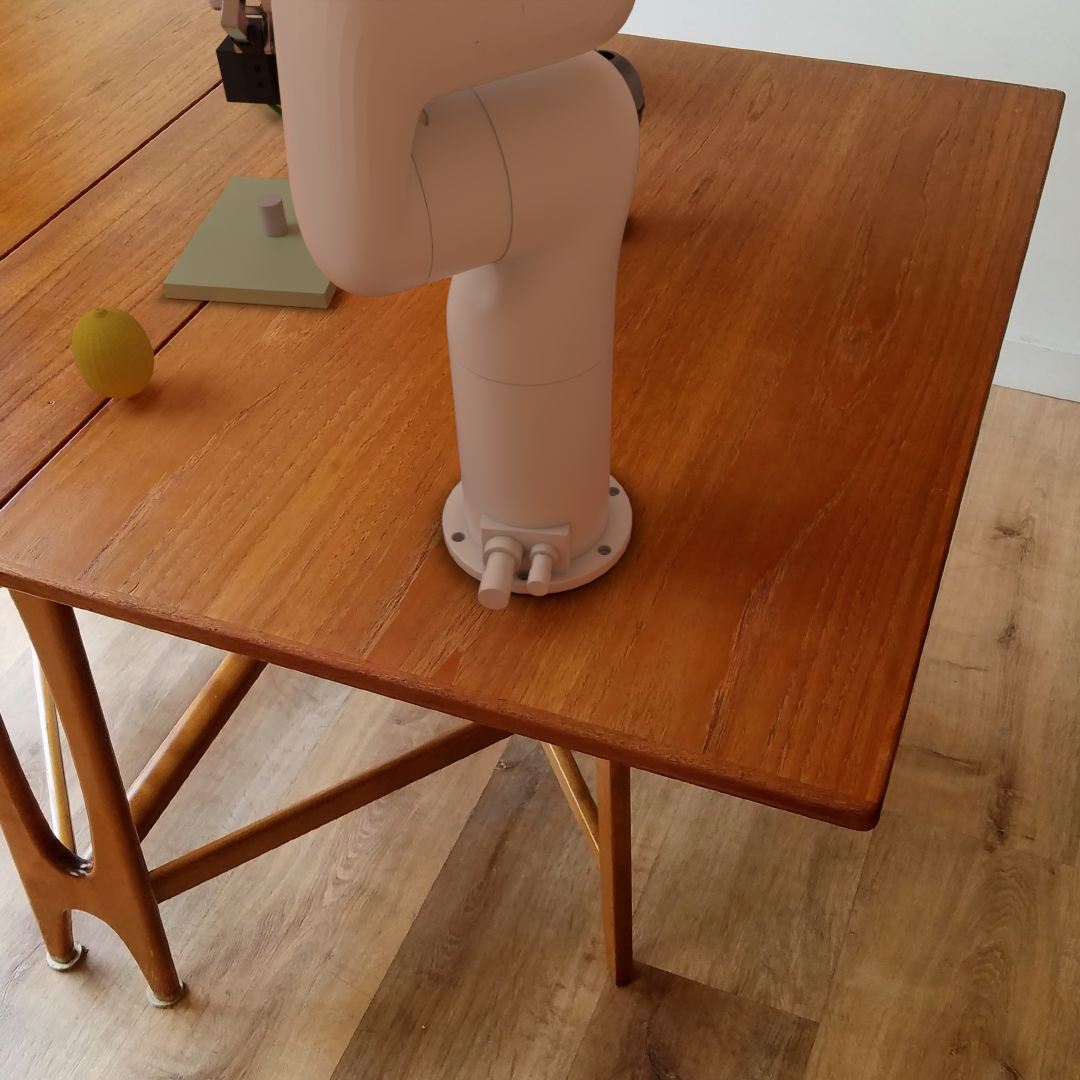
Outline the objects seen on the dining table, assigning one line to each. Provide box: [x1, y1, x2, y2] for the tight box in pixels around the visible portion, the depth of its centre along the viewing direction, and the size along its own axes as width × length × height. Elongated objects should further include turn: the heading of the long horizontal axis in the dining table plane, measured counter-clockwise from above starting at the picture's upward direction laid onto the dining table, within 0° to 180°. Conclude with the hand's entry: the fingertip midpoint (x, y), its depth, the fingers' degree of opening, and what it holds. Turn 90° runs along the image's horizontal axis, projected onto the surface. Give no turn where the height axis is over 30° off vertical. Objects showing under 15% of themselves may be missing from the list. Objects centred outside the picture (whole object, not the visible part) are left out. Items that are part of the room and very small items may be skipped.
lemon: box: [71, 306, 155, 400], centre depth 85 cm, size 6×6×8 cm
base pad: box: [161, 175, 338, 310], centre depth 101 cm, size 18×14×4 cm
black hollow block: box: [215, 16, 263, 104], centre depth 88 cm, size 6×8×4 cm
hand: (283, 80), depth 89 cm, fingers closed on black hollow block, 6 cm apart
